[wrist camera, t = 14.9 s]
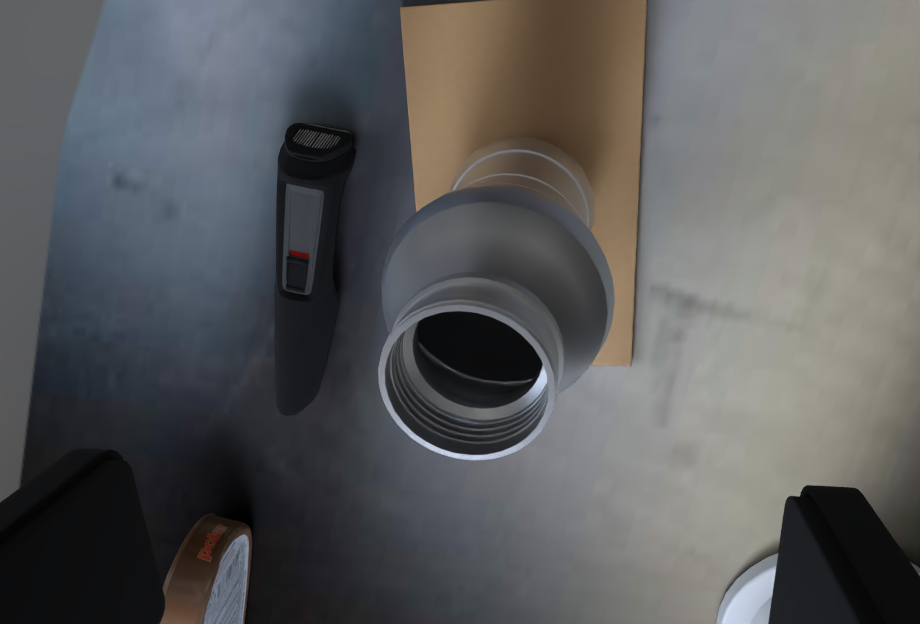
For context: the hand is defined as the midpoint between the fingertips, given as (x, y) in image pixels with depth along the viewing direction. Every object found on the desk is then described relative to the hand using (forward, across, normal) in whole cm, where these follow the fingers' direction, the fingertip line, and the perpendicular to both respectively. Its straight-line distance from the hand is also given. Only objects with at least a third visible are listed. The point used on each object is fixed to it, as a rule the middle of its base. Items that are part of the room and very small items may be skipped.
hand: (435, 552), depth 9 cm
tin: (+25, +21, +25) cm, 41 cm away
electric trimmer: (+25, +12, +3) cm, 28 cm away
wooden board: (+25, 0, -1) cm, 25 cm away
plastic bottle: (+24, 0, -1) cm, 25 cm away
